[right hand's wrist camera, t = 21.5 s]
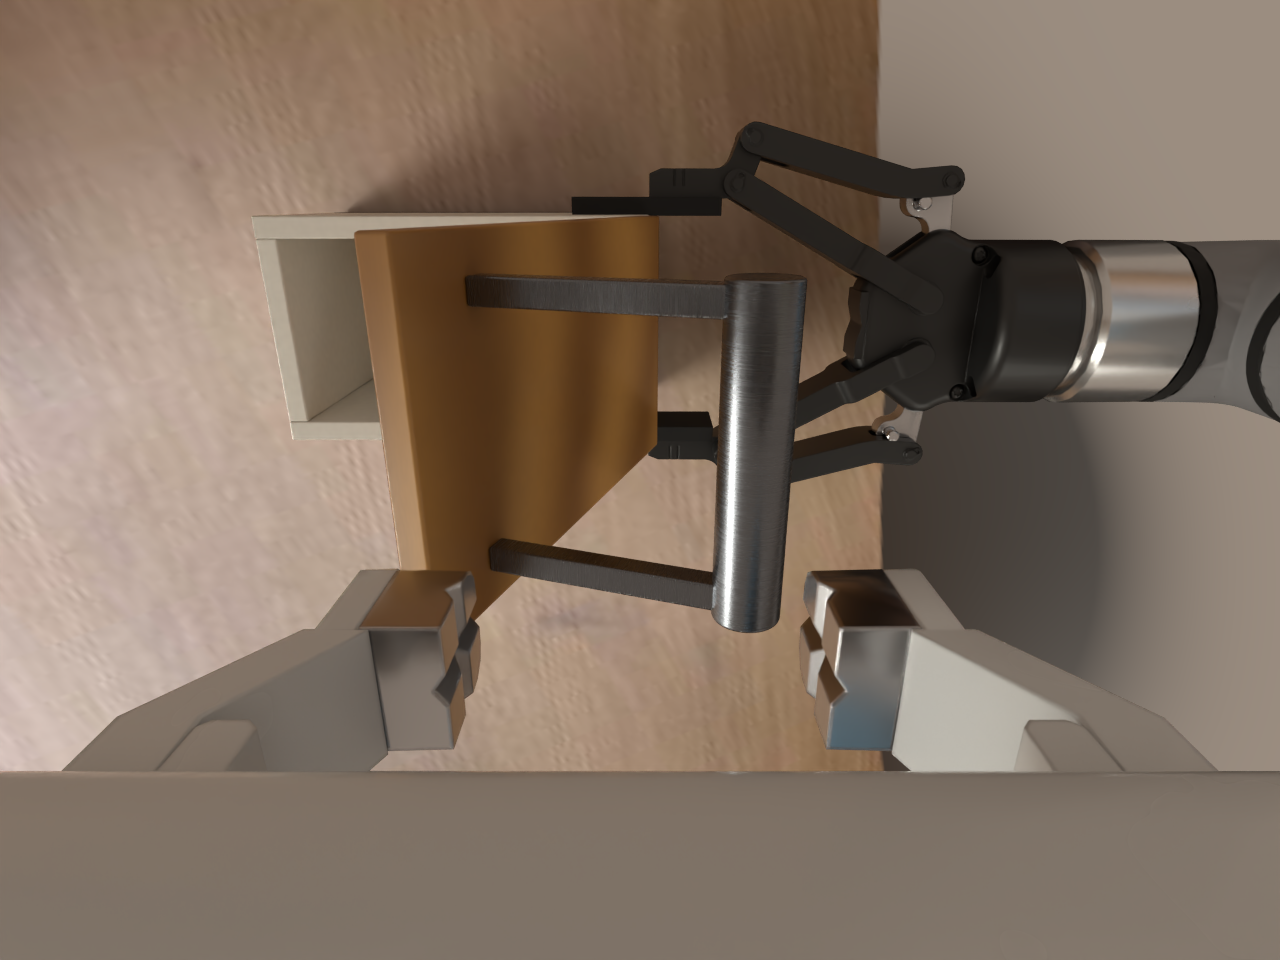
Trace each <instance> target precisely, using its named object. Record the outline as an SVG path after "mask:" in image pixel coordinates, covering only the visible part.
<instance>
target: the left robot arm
mask: <svg viewBox="0 0 1280 960" xmlns="http://www.w3.org/2000/svg"><path fill="white" fill-rule="evenodd" d="M760 161H763V162H766V163H769V164H773V165H776V166H779V167H783V168H786V169H789V170H792V171H796V172H799V173H802V174H806V175H809V176H812V177H816V178H819V179H822V180H825V181H829V182H832V183H835V184H839V185H842V186H845V187H849V188H852V189H855V190H858V191H862V192H865V193H868V194H872V195H875V196H879V197H884V198H900V209H901V211H902V212H903V214H905V215H906V216H910V217H914V218H916V219H918V220H919V222H920V223H921V226H922V231H921V232H919V233H918V234H916V235H915V236H914V237H912V238H911V239H909V240H908V241H906V242H905V243H903V244H902V245H900V246H899V247H898V248H896V249H895V250H893V251H892V252H890V253H889V254H888V255H886V256H885V255H883V254H881V253H880V252H878V251H877V250H875V249H873V248H871V247H869V246H867V245H865V244H863V243H862V242H860V241H858V240H857V239H855V238H853V237H852V236H850V235H849V234H847V233H845V232H844V231H842V230H841V229H839V228H837V227H836V226H834V225H832V224H831V223H829V222H828V221H826V220H824V219H823V218H821V217H820V216H818V215H816V214H815V213H813V212H811V211H810V210H808V209H807V208H805V207H803V206H802V205H800V204H799V203H797V202H795V201H794V200H792V199H791V198H789V197H787V196H786V195H784V194H782V193H781V192H779V191H778V190H776V189H774V188H773V187H771V186H770V185H768V184H766V183H765V182H763V181H762V180H760V179H758V178H757V177H755V176H754V175H755V172H756V170H757V167H758V164H759V162H760ZM964 181H965V175H964V172H963V171H962V169H961V168H959V167H958V166H941V167H929V168H918V169H911V168H907V167H904V166H901V165H898V164H894V163H891V162H888V161H885V160H881V159H878V158H875V157H872V156H868V155H865V154H862V153H859V152H856V151H852V150H849V149H846V148H843V147H839V146H836V145H833V144H830V143H826V142H823V141H820V140H817V139H813V138H810V137H807V136H804V135H800V134H797V133H794V132H791V131H787V130H784V129H781V128H778V127H774V126H771V125H768V124H765V123H761V122H752V123H749V124H748V125H747V126H745V127H744V128H742V129H741V130H740V131H739V132H738V133H737V135H736V137H735V142H734V145H733V148H732V150H731V153H730V156H729V158H728V160H727V162H726V163H725V164H724V165H723V166H722V167H720V168H715V169H659V170H657V171H654V172H652V173H650V179H649V197H572V215H649V216H721V206H722V198H727V199H729V200H731V201H732V202H734V203H736V204H737V205H739V206H741V207H742V208H744V209H745V210H747V211H749V212H750V213H752V214H754V215H755V216H757V217H759V218H760V219H762V220H763V221H765V222H767V223H768V224H770V225H772V226H773V227H775V228H777V229H778V230H780V231H782V232H783V233H785V234H786V235H788V236H790V237H791V238H793V239H795V240H796V241H798V242H800V243H801V244H803V245H804V246H806V247H808V248H809V249H811V250H813V251H814V252H816V253H818V254H819V255H821V256H823V257H824V258H826V259H827V260H829V261H831V262H832V263H834V264H835V265H836V266H838V267H840V268H841V269H843V270H844V271H846V272H848V273H849V274H851V275H853V276H854V277H856V278H857V280H856V282H855V284H854V286H853V287H850V288H849V298H848V306H849V313H850V322H849V325H848V328H847V330H846V333H845V336H844V346H843V351H844V352H845V353H846V355H847V356H845V357H843V358H841V359H839V360H838V361H836V362H834V363H832V364H830V365H829V366H827V367H826V369H825V370H824V371H822V372H821V373H819V374H817V375H815V376H813V377H811V378H809V379H807V380H805V381H803V382H801V383H799V386H798V398H797V411H796V423H795V429H796V428H798V427H800V426H802V425H804V424H806V423H808V422H810V421H812V420H814V419H816V418H818V417H820V416H822V415H824V414H826V413H828V412H830V411H832V410H834V409H836V408H838V407H840V406H842V405H844V404H847V403H855V402H858V401H860V400H862V399H864V398H866V397H868V396H870V395H872V394H874V393H876V392H878V391H880V390H881V391H882V392H884V393H885V394H886V395H888V396H889V397H890V398H891V399H893V400H894V401H895V402H897V403H898V405H897V408H896V409H895V411H894V412H892V413H891V414H889V415H885V416H880V417H878V418H876V419H875V420H874V422H873V424H872V426H858V427H852V428H847V429H843V430H839V431H835V432H831V433H827V434H823V435H819V436H815V437H811V438H807V439H803V440H799V441H795V442H794V448H793V460H792V472H791V483H793V482H797V481H801V480H805V479H809V478H813V477H818V476H822V475H826V474H830V473H834V472H838V471H842V470H846V469H850V468H854V467H859V466H863V465H867V464H871V463H885V464H897V465H913V464H915V463H917V462H918V461H919V460H920V459H921V457H922V448H921V446H919V445H918V444H917V443H916V439H917V435H918V431H919V427H920V422H921V418H922V414H923V411H925V410H928V409H930V408H932V407H934V406H936V405H939V404H942V403H945V402H1034V401H1037V400H1040V399H1042V398H1043V399H1045V400H1047V401H1049V402H1130V401H1139V402H1154V401H1162V402H1207V403H1219V404H1226V405H1232V406H1236V407H1239V408H1242V409H1245V410H1248V411H1251V412H1254V413H1257V414H1259V415H1262V416H1265V417H1268V418H1271V419H1273V420H1276V421H1278V422H1280V240H1246V241H1203V242H1177V241H1163V240H1073V241H1067V242H1065V243H1063V244H1061V243H1059V242H1057V241H1053V240H968V239H966V238H963V237H961V236H960V235H958V234H957V233H955V232H954V231H951V221H952V207H953V195H954V194H956V193H957V192H959V191H960V190H961V188H962V187H963V185H964ZM718 431H719V425H718V426H716V427H715V428H713V426H712V422H711V419H710V416H709V412H657V445H656V446H655V447H654V448H653V449H652V450H651V451H650V452H649V453H648V455H649V456H651V457H654V458H656V459H706V460H710V461H712V462H714V463H715V464H716V465H717V455H718Z"/></svg>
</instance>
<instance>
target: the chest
mask: <svg viewBox="0 0 1280 960" xmlns="http://www.w3.org/2000/svg"><path fill="white" fill-rule="evenodd" d="M626 216H649V215H572V212H343V213H321V214H293V215H264V216H252V217H251V219H252V224H253V229H254V235H255V238H256V244H257V249H258V255H259V260H260V265H261V271H262V276H263V281H264V287H265V292H266V297H267V303H268V308H269V313H270V319H271V324H272V329H273V335H274V340H275V346H276V351H277V356H278V362H279V367H280V372H281V378H282V383H283V388H284V394H285V399H286V404H287V410H288V415H289V420H290V421H291V422H290V427H291V432H292V437H293V440H382V435H381V428H380V420H379V413H378V406H377V399H376V392H375V384H374V377H373V370H372V363H371V356H370V348H369V341H368V334H367V327H366V320H365V312H364V305H363V298H362V291H361V284H360V276H359V269H358V262H357V255H356V248H355V241H354V233H355V232H356V231H358V230H375V229H395V228H414V227H433V226H453V225H472V224H491V223H510V222H530V221H549V220H568V219H588V218H607V217H626Z"/></svg>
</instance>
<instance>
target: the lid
mask: <svg viewBox="0 0 1280 960" xmlns="http://www.w3.org/2000/svg"><path fill="white" fill-rule="evenodd" d="M354 241H355V248H356V255H357V262H358V269H359V276H360V284H361V291H362V298H363V305H364V312H365V320H366V327H367V334H368V341H369V348H370V356H371V363H372V370H373V377H374V384H375V392H376V399H377V406H378V413H379V420H380V428H381V435H382V442H383V449H384V456H385V463H386V471H387V478H388V485H389V492H390V499H391V507H392V514H393V521H394V528H395V535H396V543H397V550H398V557H399V564H400V570H451V571H471V573H472V575H473V577H474V581H475V589H476V597H477V600H476V602H475V605H474V607H473V610H472V613H471V615H470V617H471V618H472V619H473V620H474V621H475V620H476V619H477V618H478V617H479V616H480V615H481V614H482V613H483V612H484V611H485V610H486V609H487V608H488V607H489V606H490V605H491V604H492V603H493V602H494V601H495V600H496V599H498V598H499V597H500V596H501V595H502V594H503V593H504V592H505V591H506V590H507V589H508V588H509V587H510V586H511V585H512V584H513V583H514V582H515V581H516V580H517V579H518V578H519V577H520V576H524V577H530V578H535V579H541V580H546V581H552V582H557V583H563V584H569V585H574V586H580V587H585V588H591V589H596V590H602V591H607V592H613V593H619V594H624V595H630V596H635V597H641V598H646V599H652V600H657V601H663V602H669V603H674V604H680V605H685V606H691V607H696V608H702V609H707V610H711V614H712V616H713V618H714V620H715V621H716V622H717V623H718V624H720V625H721V626H723V627H725V628H727V629H729V630H733V631H737V632H742V633H757V632H762V631H766V630H769V629H771V628H772V627H774V626H775V625H776V624H777V622H778V621H779V618H780V607H781V595H782V583H783V570H784V558H785V546H786V534H787V521H788V509H789V497H790V484H791V472H792V460H793V448H794V435H795V423H796V411H797V398H798V386H799V374H800V362H801V349H802V337H803V325H804V313H805V300H806V288H807V279H806V278H805V277H803V276H799V275H792V274H778V273H744V274H733V275H729V276H726V277H725V281H697V280H667V279H658V274H659V217H658V216H626V217H607V218H588V219H568V220H549V221H530V222H510V223H491V224H472V225H453V226H433V227H414V228H395V229H375V230H358V231H356V232H355V233H354ZM658 316H665V317H685V318H705V319H723V332H722V357H721V381H720V406H719V431H718V455H717V480H716V504H715V529H714V553H713V572H708V571H702V570H696V569H690V568H683V567H677V566H671V565H665V564H659V563H653V562H647V561H640V560H634V559H628V558H622V557H616V556H610V555H604V554H598V553H591V552H585V551H579V550H573V549H567V548H561V547H555V546H552V545H553V544H554V543H555V542H556V541H558V540H559V539H560V538H561V537H562V536H563V535H564V534H565V533H566V532H567V531H568V530H569V529H570V528H571V527H572V526H573V525H574V524H575V523H576V522H577V521H578V520H579V519H580V518H581V517H582V516H583V515H584V514H585V513H586V512H588V511H589V510H590V509H591V508H592V507H593V506H594V505H595V504H596V503H597V502H598V501H599V500H600V499H601V498H602V497H603V496H604V495H605V494H606V493H607V492H608V491H609V490H610V489H611V488H612V487H613V486H614V485H615V484H616V483H618V482H619V481H620V480H621V479H622V478H623V477H624V476H625V475H626V474H627V473H628V472H629V471H630V470H631V469H632V468H633V467H634V466H635V465H636V464H637V463H638V462H639V461H640V460H641V459H642V458H643V457H644V456H645V455H646V454H648V453H649V452H650V451H651V450H652V449H653V448H654V447H655V446H656V445H657V397H658Z"/></svg>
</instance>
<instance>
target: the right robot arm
mask: <svg viewBox="0 0 1280 960" xmlns="http://www.w3.org/2000/svg"><path fill="white" fill-rule="evenodd" d="M476 600H477V597H476V589H475V581H474V577H473V575H472V573H471V571H451V570H399V569H372V570H361V571H360V572H359V573H358V574H357V575H356V576H355V578H354V579H353V580H352V582H351V583H350V584H349V586H348V587H347V588H346V589H345V591H344V592H343V593H342V595H341V596H340V597H339V599H338V600H337V601H336V602H335V604H334V605H333V606H332V608H331V609H330V610H329V611H328V613H327V614H326V615H325V617H324V618H323V619H322V621H321V622H320V623H319V624H318V626H317V627H316V628H315V629H303V630H301V631H299V632H297V633H295V634H292V635H290V636H288V637H286V638H284V639H282V640H280V641H278V642H275V643H273V644H271V645H269V646H267V647H265V648H263V649H260V650H258V651H256V652H254V653H252V654H250V655H248V656H246V657H243V658H241V659H239V660H237V661H235V662H233V663H231V664H228V665H226V666H224V667H222V668H220V669H218V670H216V671H214V672H211V673H209V674H207V675H205V676H203V677H201V678H199V679H197V680H194V681H192V682H190V683H188V684H186V685H184V686H182V687H179V688H177V689H175V690H173V691H171V692H169V693H167V694H165V695H162V696H160V697H158V698H156V699H154V700H152V701H150V702H147V703H145V704H143V705H141V706H139V707H137V708H135V709H133V710H130V711H128V712H126V713H124V714H122V715H120V716H118V717H116V718H115V719H114V720H113V721H112V722H111V723H110V724H109V725H108V726H107V727H106V728H105V729H104V730H103V731H102V732H101V733H100V734H99V735H98V736H97V737H96V738H95V739H94V740H93V741H92V742H91V743H90V744H89V745H88V746H87V747H86V748H85V749H84V750H83V751H82V752H80V753H79V754H78V755H77V756H76V757H75V758H74V759H73V760H72V761H71V762H70V763H69V764H68V765H67V766H66V767H65V768H64V769H63V770H62V771H0V960H1280V771H1218V770H1217V769H1216V768H1215V767H1214V766H1213V765H1212V764H1211V763H1210V762H1209V761H1208V760H1207V759H1206V758H1205V757H1204V756H1203V755H1202V754H1201V753H1200V752H1199V751H1198V750H1197V749H1196V748H1195V747H1194V746H1193V745H1192V744H1191V743H1190V742H1189V741H1188V740H1187V739H1186V738H1185V737H1183V735H1181V734H1180V733H1179V732H1178V731H1177V730H1176V729H1175V728H1174V727H1173V726H1172V725H1171V724H1170V723H1169V722H1168V721H1167V720H1166V719H1165V718H1164V717H1162V716H1160V715H1157V714H1155V713H1153V712H1151V711H1149V710H1147V709H1145V708H1143V707H1140V706H1138V705H1136V704H1134V703H1132V702H1130V701H1128V700H1126V699H1124V698H1121V697H1119V696H1117V695H1115V694H1113V693H1111V692H1109V691H1107V690H1104V689H1102V688H1100V687H1098V686H1096V685H1094V684H1092V683H1089V682H1087V681H1085V680H1083V679H1081V678H1079V677H1077V676H1075V675H1072V674H1070V673H1068V672H1066V671H1064V670H1062V669H1060V668H1058V667H1056V666H1053V665H1051V664H1049V663H1047V662H1045V661H1043V660H1040V659H1038V658H1036V657H1034V656H1032V655H1030V654H1028V653H1026V652H1024V651H1022V650H1019V649H1017V648H1015V647H1013V646H1011V645H1009V644H1007V643H1005V642H1002V641H1000V640H998V639H996V638H994V637H992V636H990V635H987V634H985V633H983V632H981V631H979V630H977V629H965V628H964V627H963V626H962V625H961V623H960V622H959V621H958V619H957V618H956V617H955V616H954V614H953V613H952V612H951V610H950V609H949V608H948V607H947V605H946V604H945V603H944V601H943V600H942V599H941V597H940V596H939V595H938V594H937V592H936V591H935V590H934V588H933V587H932V586H931V585H930V583H929V582H928V581H927V579H926V578H925V577H924V576H923V574H922V573H921V572H920V571H918V570H916V569H895V570H882V569H874V570H832V571H811V572H808V574H807V578H806V581H805V588H804V597H803V600H804V602H805V605H806V607H807V610H808V613H809V615H810V617H809V618H808V619H807V620H806V621H805V622H804V623H803V625H802V626H801V629H800V643H799V653H800V669H801V674H802V679H803V683H804V686H805V689H806V692H807V693H808V694H809V695H811V696H812V697H814V698H815V699H816V700H815V710H814V716H815V718H816V721H817V724H818V727H819V730H820V733H821V736H822V738H823V741H824V744H825V747H826V749H837V750H874V751H892V754H893V755H894V756H895V757H896V758H897V759H898V760H899V761H901V762H902V763H903V764H904V765H905V766H906V767H907V768H909V769H910V770H911V771H370V770H371V769H372V768H373V767H374V766H375V765H376V764H378V763H379V762H380V761H381V760H382V759H383V758H384V757H386V756H387V755H388V751H405V750H441V749H454V747H455V744H456V741H457V739H458V736H459V733H460V730H461V727H462V724H463V721H464V718H465V716H466V710H465V700H464V699H465V698H466V697H468V696H469V695H471V694H472V693H473V692H474V689H475V686H476V682H477V679H478V673H479V666H480V659H481V640H480V628H479V626H478V625H477V623H476V622H475V621H474V620H473V619H472V618H471V617H470V615H471V613H472V610H473V607H474V605H475V602H476Z"/></svg>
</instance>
